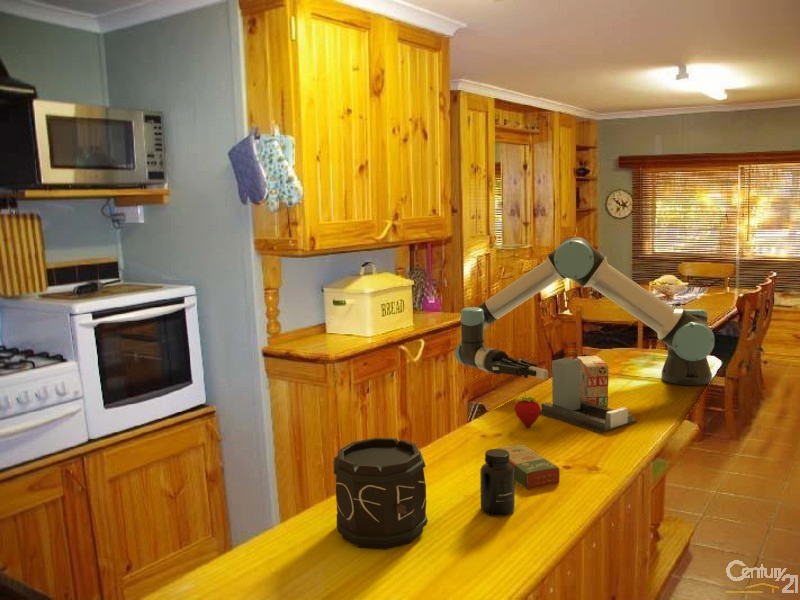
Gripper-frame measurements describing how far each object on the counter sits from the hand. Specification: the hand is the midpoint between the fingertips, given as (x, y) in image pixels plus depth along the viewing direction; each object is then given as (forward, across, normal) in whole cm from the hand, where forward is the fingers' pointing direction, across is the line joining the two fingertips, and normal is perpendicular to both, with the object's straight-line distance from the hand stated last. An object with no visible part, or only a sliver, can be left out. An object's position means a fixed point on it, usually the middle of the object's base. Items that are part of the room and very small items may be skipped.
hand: (546, 375), depth 209 cm
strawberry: (+11, +18, -10) cm, 23 cm away
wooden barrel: (+36, +80, -10) cm, 88 cm away
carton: (+33, +40, -10) cm, 52 cm away
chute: (+15, 0, -9) cm, 17 cm away
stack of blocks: (+1, -16, -10) cm, 19 cm away
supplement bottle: (+43, +57, -10) cm, 72 cm away
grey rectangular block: (+8, 0, -9) cm, 12 cm away
